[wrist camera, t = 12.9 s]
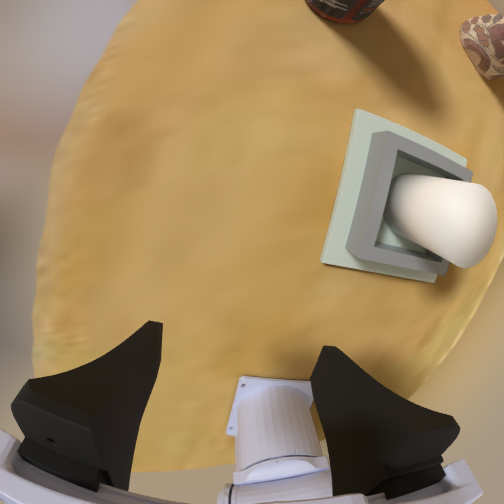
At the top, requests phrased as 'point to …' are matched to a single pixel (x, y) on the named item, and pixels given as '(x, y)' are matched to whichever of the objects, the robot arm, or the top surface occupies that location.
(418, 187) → the cream white egg
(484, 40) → the figurine
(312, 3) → the supplement bottle
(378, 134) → the cup holder
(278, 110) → the top surface
